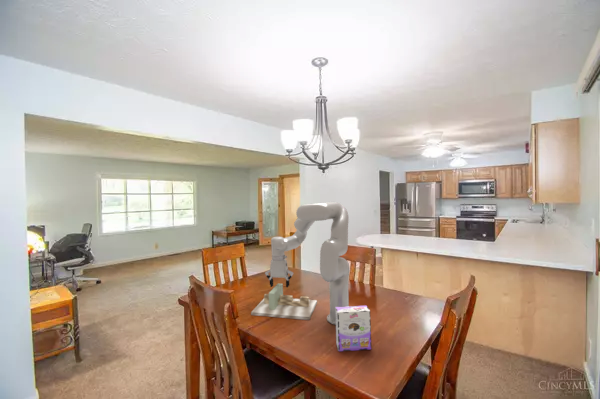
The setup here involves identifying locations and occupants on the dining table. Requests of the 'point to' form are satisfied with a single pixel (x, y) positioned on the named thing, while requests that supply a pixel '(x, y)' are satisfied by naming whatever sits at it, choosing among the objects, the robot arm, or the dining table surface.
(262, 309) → the white rectangular board
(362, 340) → the candy box
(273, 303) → the cross piece
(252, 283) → the dining table surface
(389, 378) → the dining table surface
